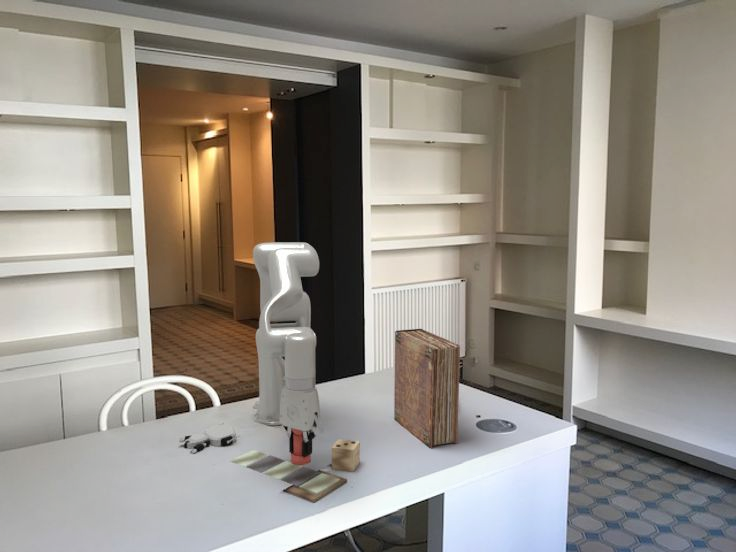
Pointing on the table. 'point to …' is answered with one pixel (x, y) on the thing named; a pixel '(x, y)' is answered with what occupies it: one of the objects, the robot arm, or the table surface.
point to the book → (427, 386)
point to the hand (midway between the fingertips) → (300, 452)
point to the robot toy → (210, 438)
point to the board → (293, 475)
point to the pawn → (298, 449)
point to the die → (345, 455)
